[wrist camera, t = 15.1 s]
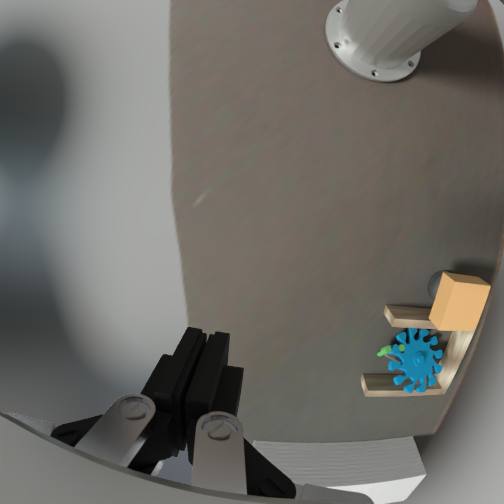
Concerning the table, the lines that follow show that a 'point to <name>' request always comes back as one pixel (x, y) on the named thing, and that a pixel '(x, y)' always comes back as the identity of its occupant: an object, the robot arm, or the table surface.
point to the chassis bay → (449, 362)
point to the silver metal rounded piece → (435, 283)
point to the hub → (459, 302)
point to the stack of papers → (351, 466)
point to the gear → (413, 359)
